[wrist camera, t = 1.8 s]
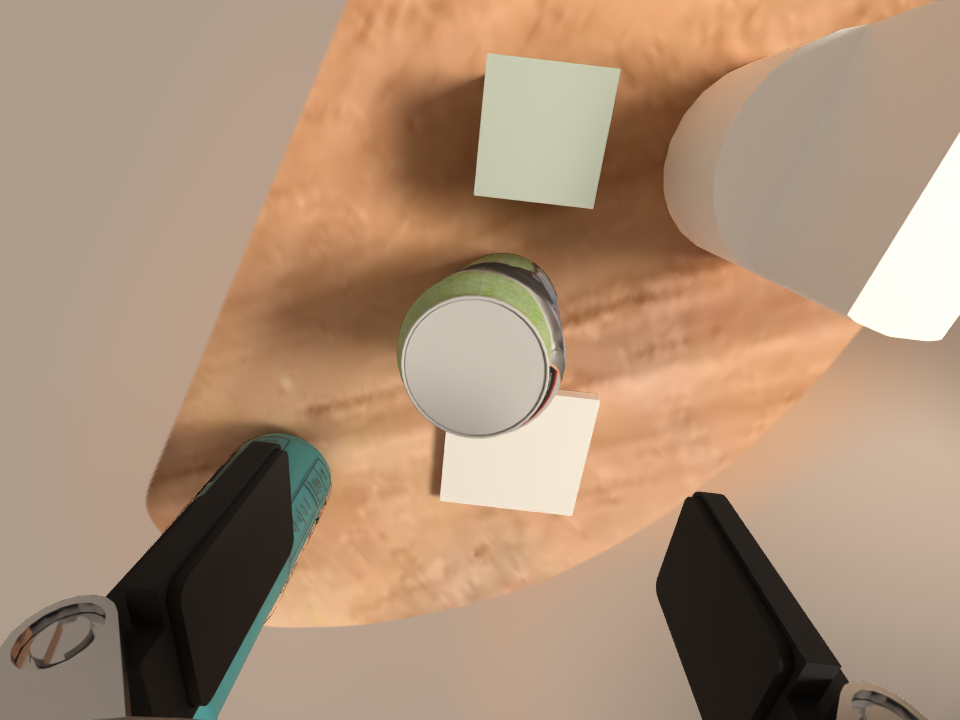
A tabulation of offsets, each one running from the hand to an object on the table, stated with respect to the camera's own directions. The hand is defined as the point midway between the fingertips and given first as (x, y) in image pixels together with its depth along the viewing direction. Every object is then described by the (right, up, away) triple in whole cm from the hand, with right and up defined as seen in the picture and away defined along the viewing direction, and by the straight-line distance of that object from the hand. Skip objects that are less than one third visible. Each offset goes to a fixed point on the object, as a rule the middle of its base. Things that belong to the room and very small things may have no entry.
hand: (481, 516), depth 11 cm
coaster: (+2, -2, +19) cm, 19 cm away
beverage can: (+1, +7, +15) cm, 17 cm away
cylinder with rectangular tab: (+14, +13, +12) cm, 23 cm away
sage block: (+3, +15, +12) cm, 19 cm away
